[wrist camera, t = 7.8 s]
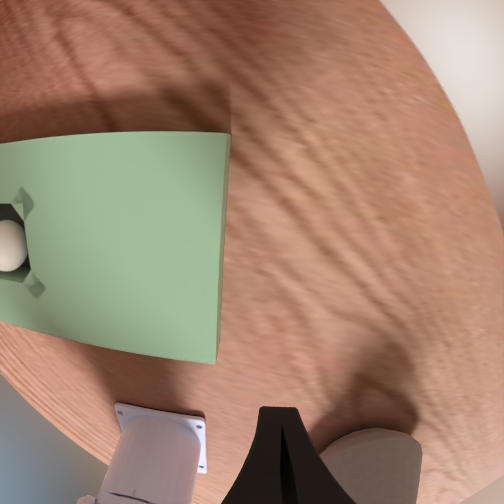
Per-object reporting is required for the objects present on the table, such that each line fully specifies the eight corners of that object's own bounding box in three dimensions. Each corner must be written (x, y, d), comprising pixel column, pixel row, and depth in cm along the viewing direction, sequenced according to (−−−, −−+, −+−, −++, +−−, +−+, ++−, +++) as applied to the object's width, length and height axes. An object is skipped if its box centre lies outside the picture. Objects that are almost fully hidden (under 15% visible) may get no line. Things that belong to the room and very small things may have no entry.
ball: (41, 253, 19) (22, 280, 16) (7, 256, 19) (-13, 282, 16) (29, 208, 17) (5, 231, 14) (-6, 215, 17) (-31, 237, 14)
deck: (219, 340, 21) (215, 364, 18) (-3, 301, 20) (-19, 314, 18) (231, 134, 16) (226, 133, 14) (-23, 148, 16) (-44, 152, 14)
